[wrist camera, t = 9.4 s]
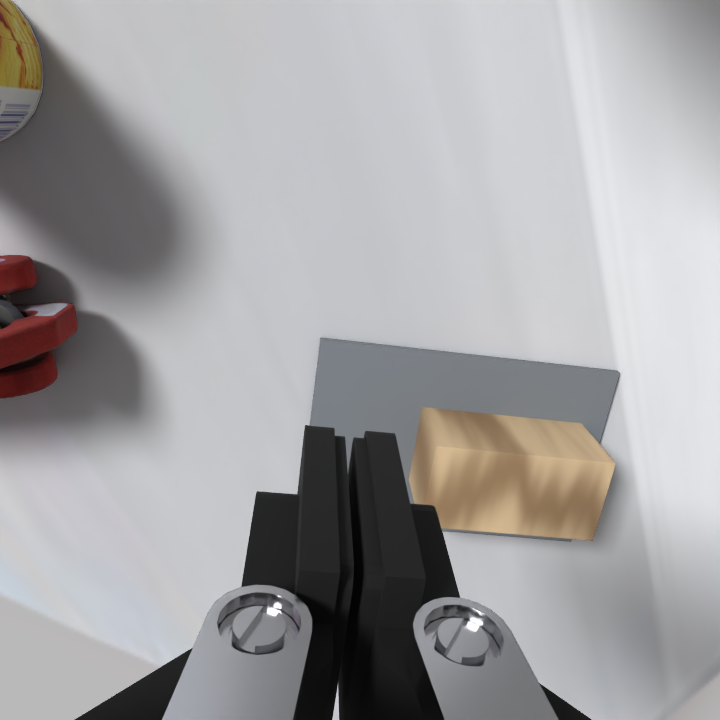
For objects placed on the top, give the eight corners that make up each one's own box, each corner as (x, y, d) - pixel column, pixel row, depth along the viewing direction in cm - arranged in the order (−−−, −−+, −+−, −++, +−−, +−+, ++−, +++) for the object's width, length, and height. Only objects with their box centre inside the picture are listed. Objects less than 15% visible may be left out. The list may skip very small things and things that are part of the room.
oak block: (436, 446, 35) (619, 463, 36) (422, 406, 40) (584, 423, 41) (420, 526, 37) (595, 540, 38) (408, 479, 41) (565, 493, 42)
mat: (320, 337, 38) (320, 339, 38) (616, 370, 40) (619, 373, 40) (298, 515, 42) (298, 518, 42) (568, 537, 44) (570, 541, 44)
